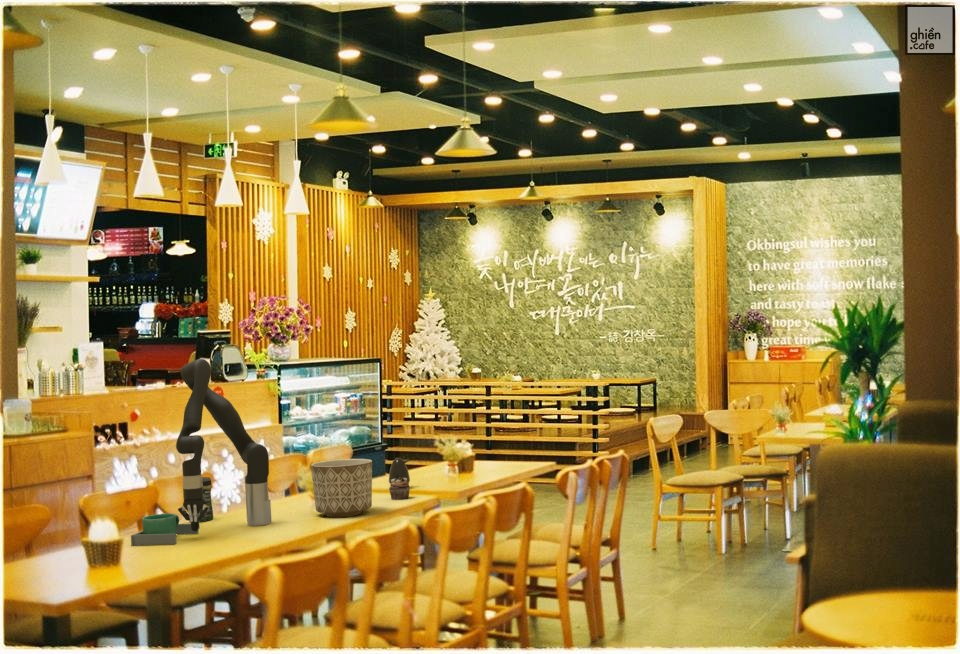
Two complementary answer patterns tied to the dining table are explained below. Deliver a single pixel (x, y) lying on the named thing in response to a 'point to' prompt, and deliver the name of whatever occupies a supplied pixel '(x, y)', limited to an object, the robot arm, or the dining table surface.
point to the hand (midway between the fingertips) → (195, 531)
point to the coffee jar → (207, 498)
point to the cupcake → (399, 488)
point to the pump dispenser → (399, 469)
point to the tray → (160, 537)
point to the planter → (342, 486)
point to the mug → (160, 524)
